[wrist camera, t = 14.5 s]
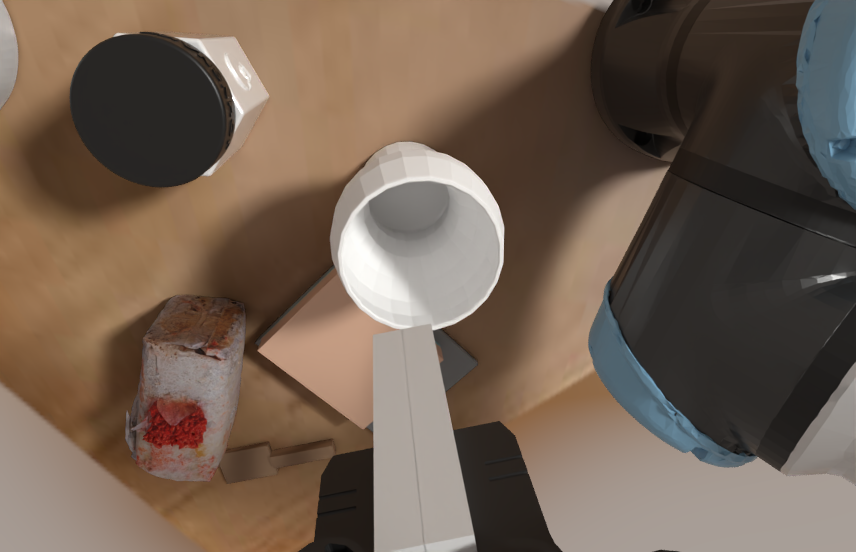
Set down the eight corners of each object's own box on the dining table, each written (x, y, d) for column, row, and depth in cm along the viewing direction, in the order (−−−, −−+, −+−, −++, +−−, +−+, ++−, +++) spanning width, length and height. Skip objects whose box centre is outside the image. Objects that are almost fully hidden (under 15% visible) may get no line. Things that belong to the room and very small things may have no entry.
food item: (241, 428, 54) (215, 509, 45) (152, 419, 53) (107, 500, 44) (255, 300, 49) (230, 362, 40) (157, 285, 47) (107, 346, 38)
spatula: (330, 429, 55) (329, 436, 54) (338, 458, 56) (338, 465, 55) (217, 451, 55) (214, 458, 54) (228, 479, 56) (226, 486, 55)
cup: (399, 275, 49) (410, 371, 35) (311, 182, 45) (286, 250, 31) (497, 196, 47) (549, 266, 33) (414, 92, 43) (435, 123, 29)
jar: (288, 122, 43) (260, 154, 32) (196, 171, 44) (138, 218, 33) (219, 3, 40) (162, -5, 29) (120, 59, 40) (27, 71, 29)
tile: (443, 359, 49) (340, 270, 45) (362, 429, 51) (257, 350, 47) (440, 345, 51) (341, 259, 47) (363, 413, 54) (262, 336, 49)
